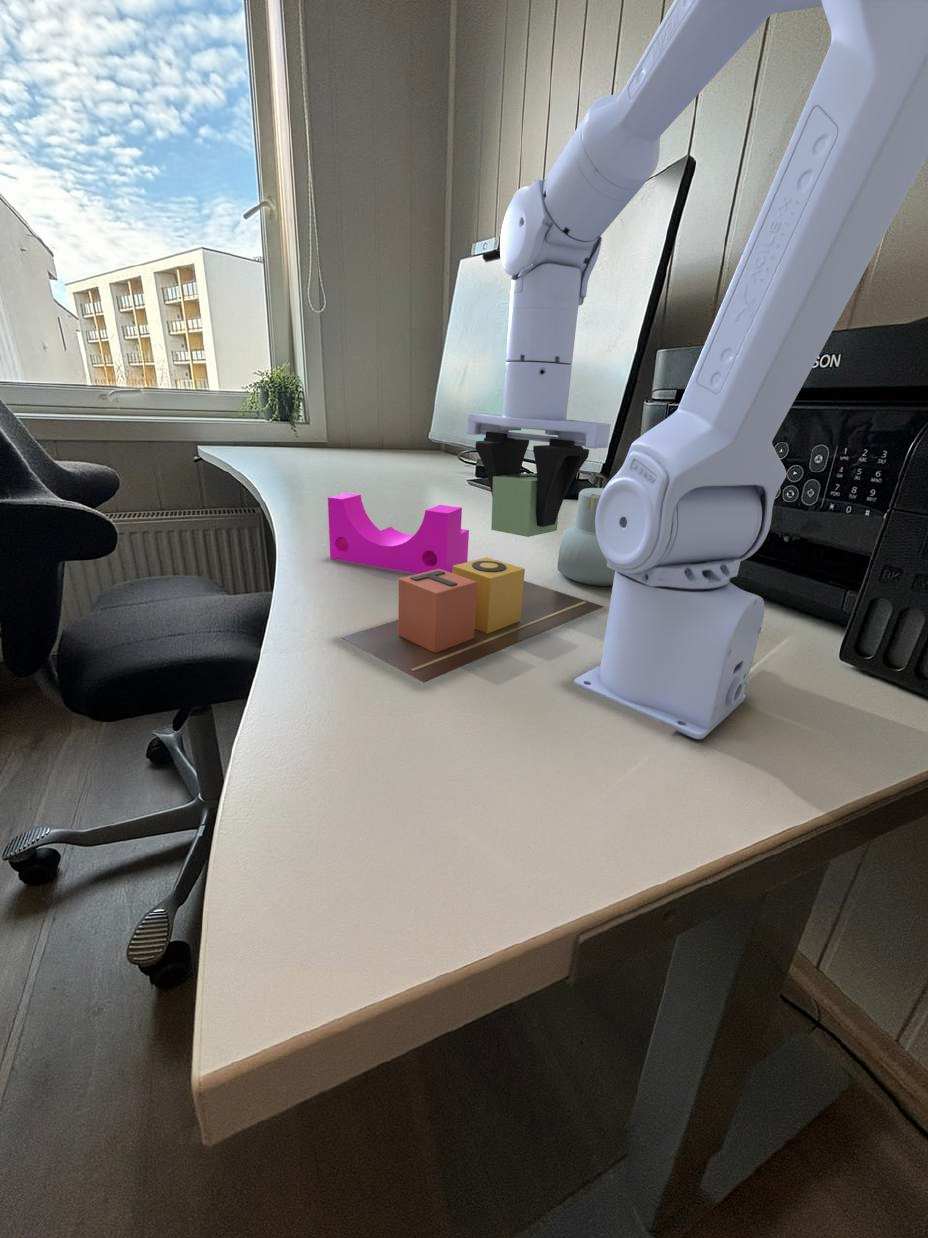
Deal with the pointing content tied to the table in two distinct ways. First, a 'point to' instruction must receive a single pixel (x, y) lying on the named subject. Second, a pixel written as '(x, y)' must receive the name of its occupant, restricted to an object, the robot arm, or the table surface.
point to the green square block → (516, 505)
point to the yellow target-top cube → (494, 592)
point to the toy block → (396, 538)
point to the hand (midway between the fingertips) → (524, 520)
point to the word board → (536, 617)
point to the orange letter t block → (437, 609)
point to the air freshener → (584, 545)
